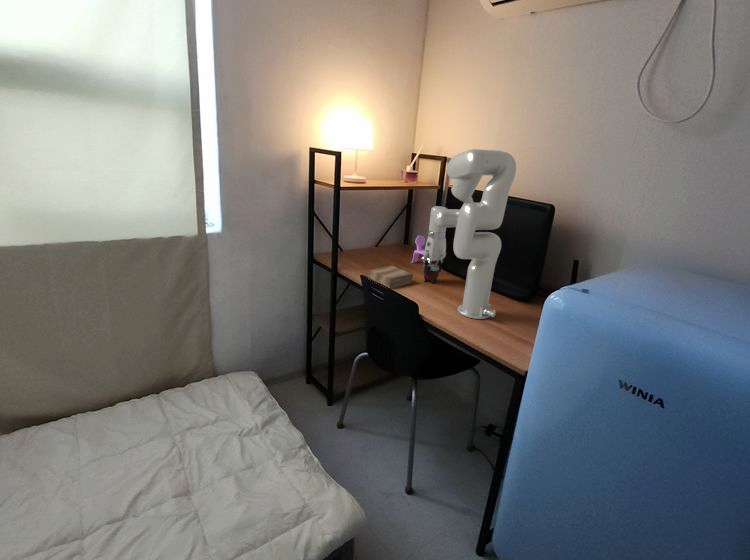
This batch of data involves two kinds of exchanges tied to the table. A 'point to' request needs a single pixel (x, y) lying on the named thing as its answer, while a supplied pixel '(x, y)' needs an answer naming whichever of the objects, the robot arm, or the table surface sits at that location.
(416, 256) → the toy chair
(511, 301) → the table surface
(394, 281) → the cardboard box
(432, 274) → the mate gourd
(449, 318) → the table surface
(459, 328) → the table surface
